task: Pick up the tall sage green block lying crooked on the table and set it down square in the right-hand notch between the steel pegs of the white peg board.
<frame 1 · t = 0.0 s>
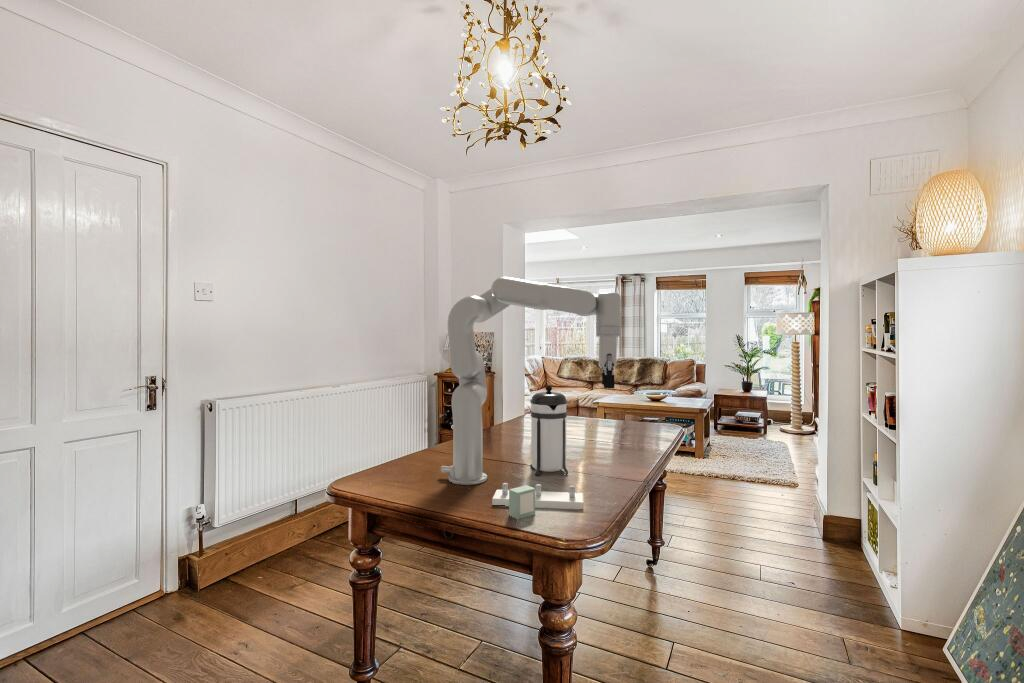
hand: (608, 386, 157), 31 cm above the table, tool pointing down, fingers open, 9 cm apart
coffee press: (546, 471, 174), on the table
tall sage green block: (522, 515, 132), on the table
white peg board: (538, 502, 141), on the table
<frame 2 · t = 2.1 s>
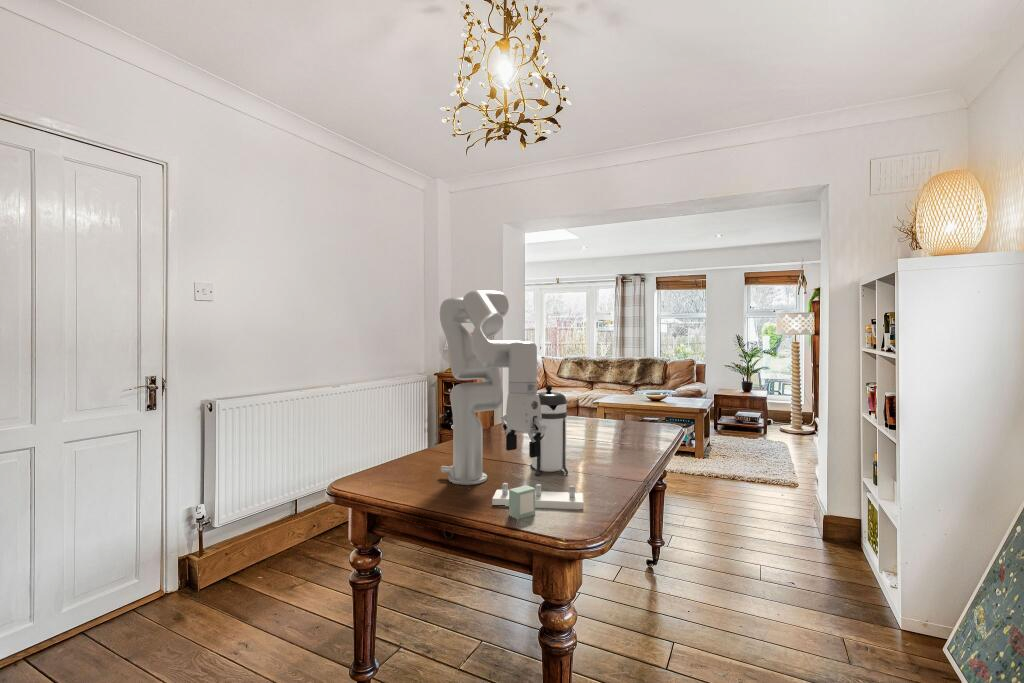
hand: (522, 453, 132), 16 cm above the table, tool pointing down, fingers open, 9 cm apart
nothing on the table moved.
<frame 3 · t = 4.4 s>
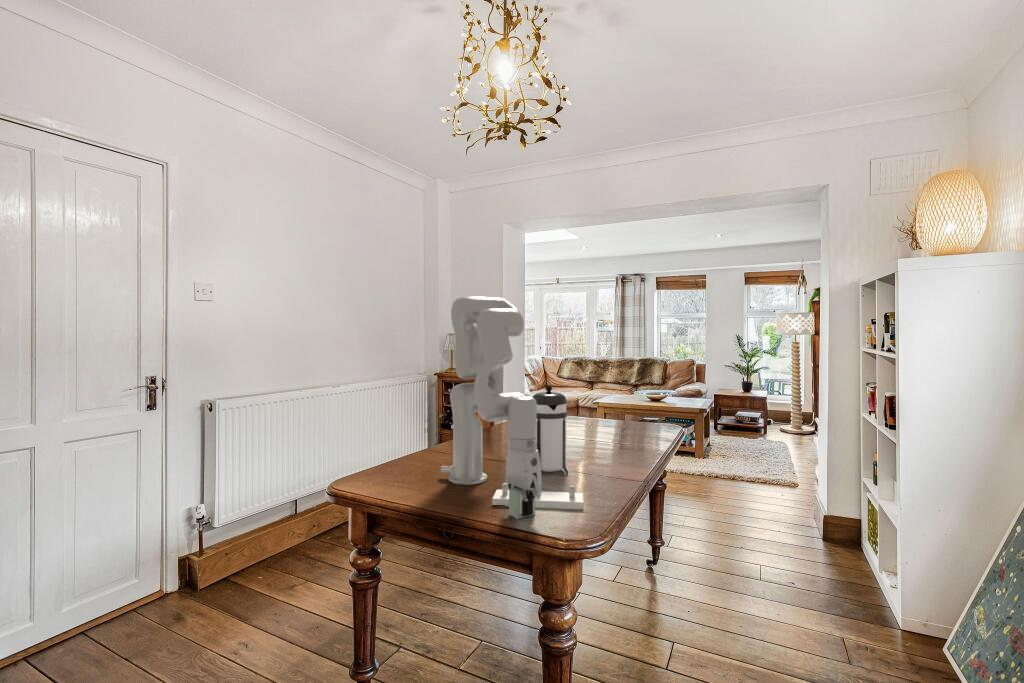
hand: (522, 512, 132), 1 cm above the table, tool pointing down, fingers closed on tall sage green block, 3 cm apart
tall sage green block: (522, 514, 132), on the table, touching gripper
everything else where it was.
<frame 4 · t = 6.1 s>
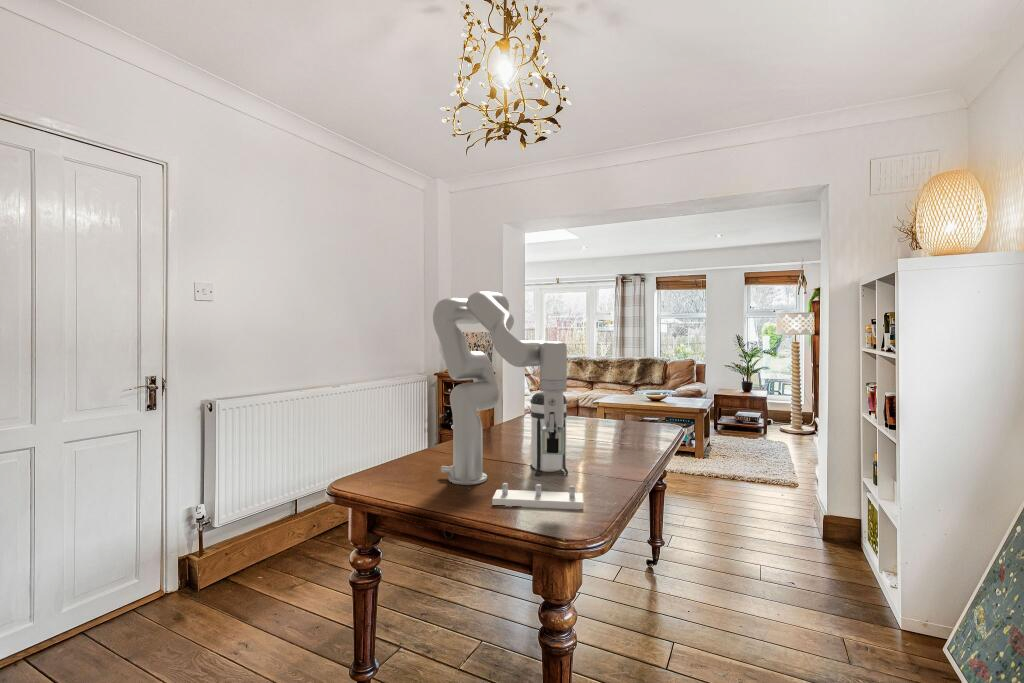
hand: (553, 450, 140), 15 cm above the table, tool pointing down, fingers closed on tall sage green block, 3 cm apart
tall sage green block: (553, 453, 140), point 14 cm above the table, touching gripper
everything else where it was.
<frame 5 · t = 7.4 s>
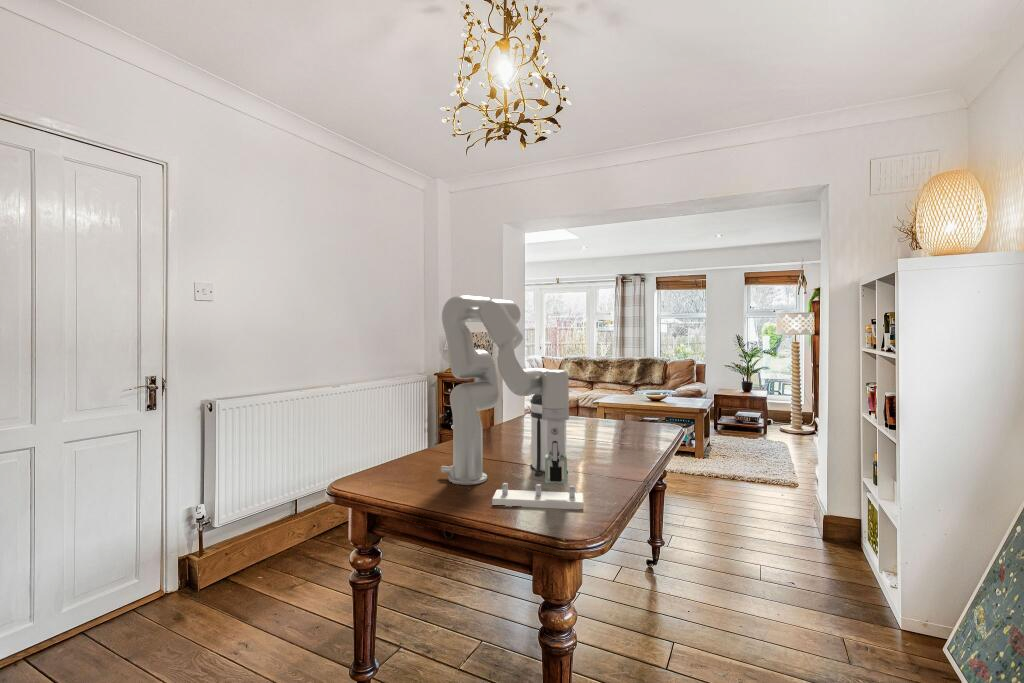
hand: (556, 478, 140), 7 cm above the table, tool pointing down, fingers closed on tall sage green block, 3 cm apart
tall sage green block: (556, 481, 140), point 6 cm above the table, touching gripper
everything else where it was.
when the fingers open (4 cm above the table, at t = 8.1 s): tall sage green block drops 1 cm, resting on white peg board.
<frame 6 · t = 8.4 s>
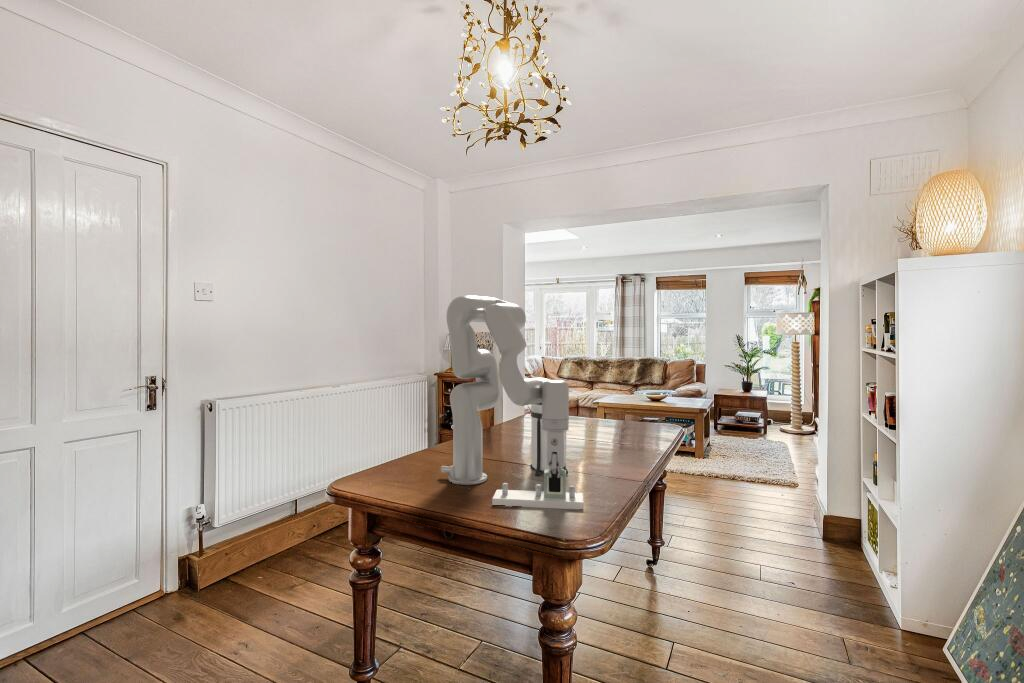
hand: (555, 487, 141), 5 cm above the table, tool pointing down, fingers open, 6 cm apart
tall sage green block: (555, 496, 141), point 2 cm above the table, touching white peg board
everything else where it was.
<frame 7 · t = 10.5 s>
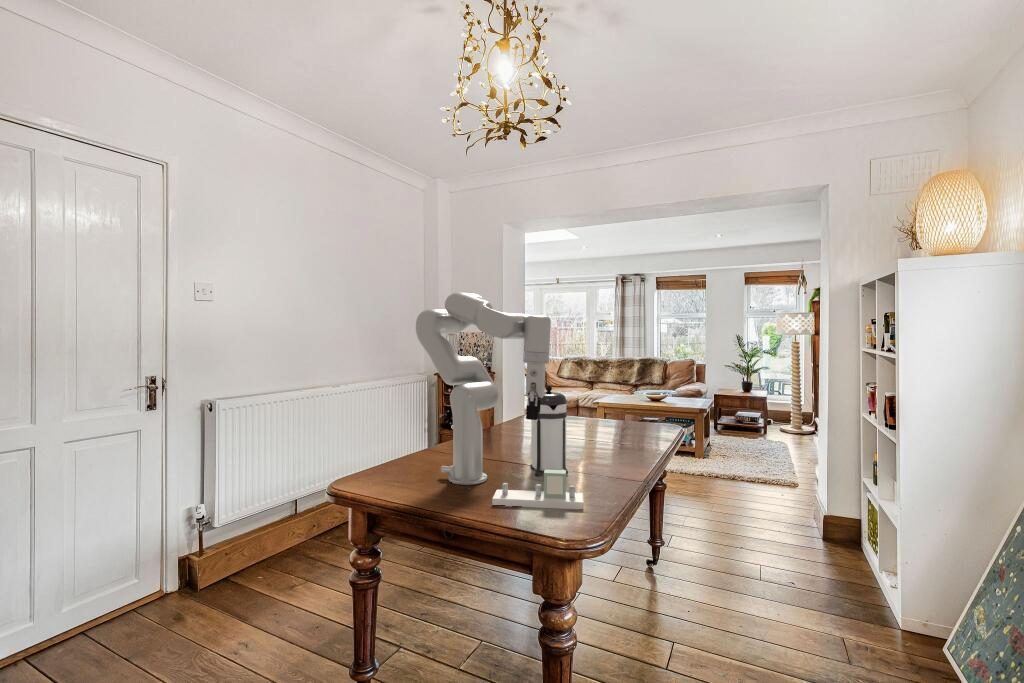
hand: (533, 416, 146), 24 cm above the table, tool pointing down, fingers open, 9 cm apart
nothing on the table moved.
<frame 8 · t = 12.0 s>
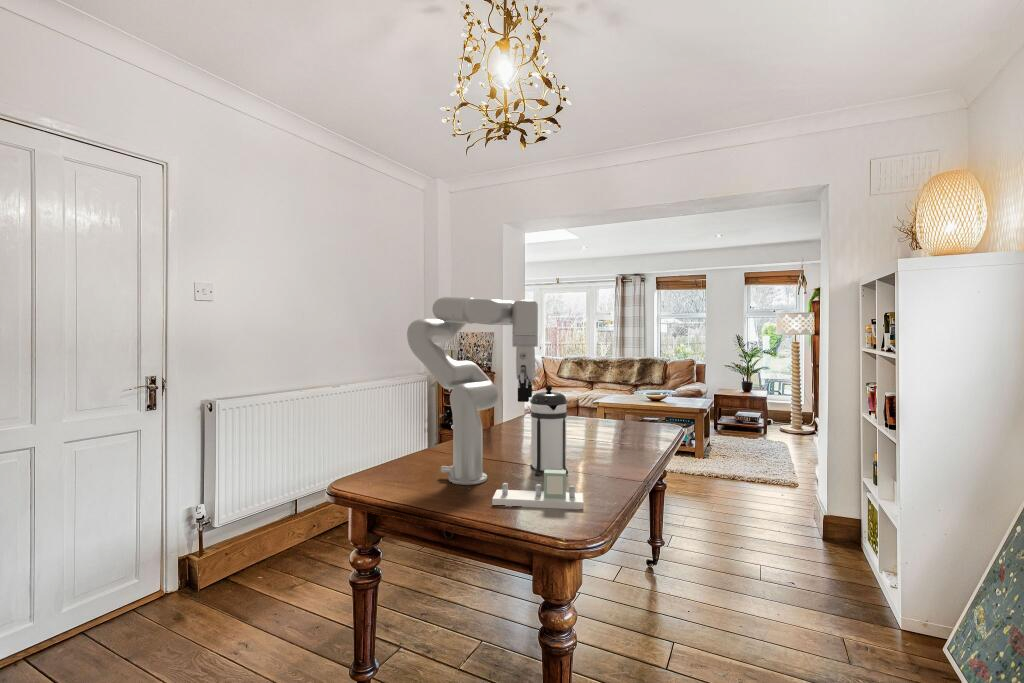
hand: (525, 399, 148), 28 cm above the table, tool pointing down, fingers open, 9 cm apart
nothing on the table moved.
at the end: tall sage green block 0.1 cm from the target spot on the white peg board, point 2.0 cm above the white peg board's base; tall sage green block tilted 0°; the gripper is holding nothing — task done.
